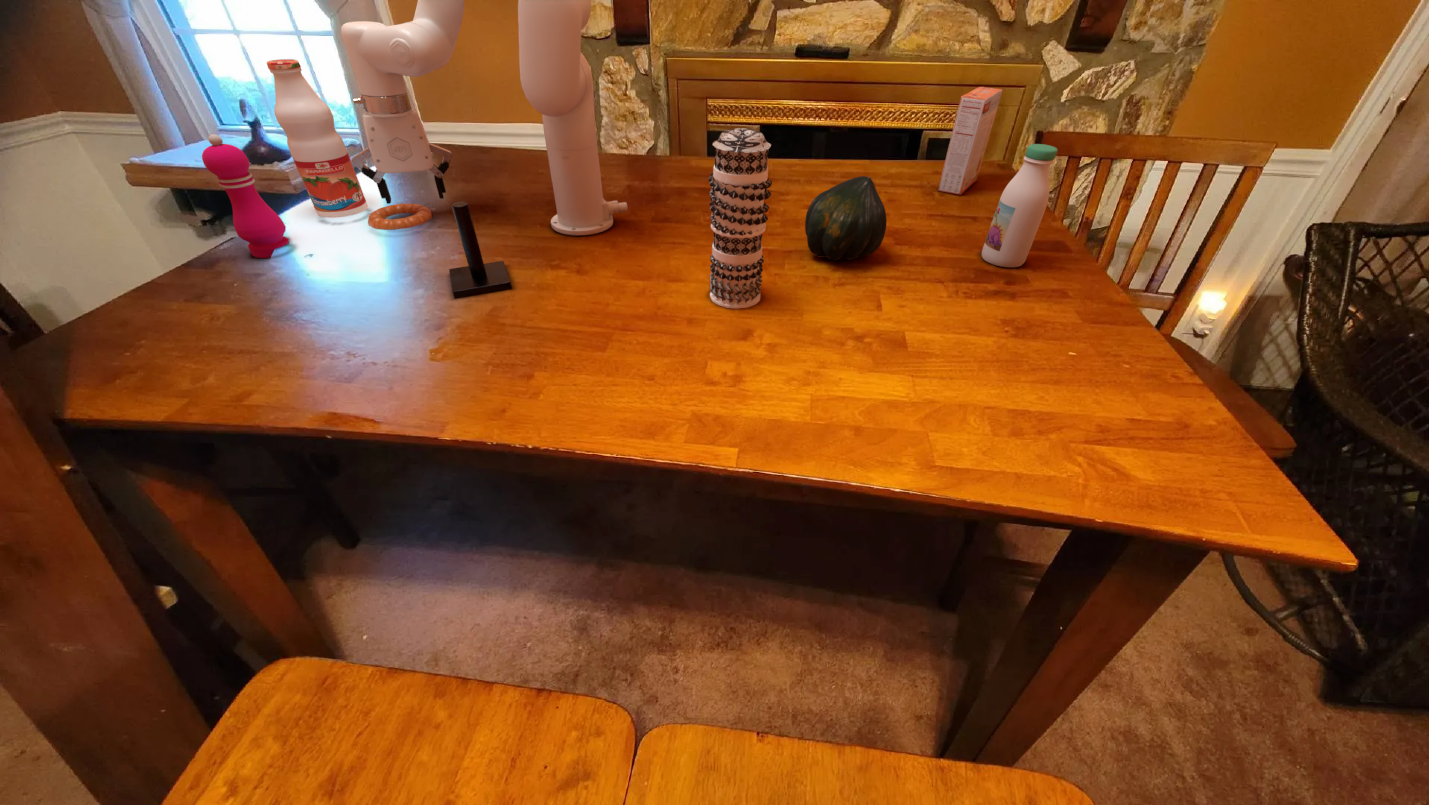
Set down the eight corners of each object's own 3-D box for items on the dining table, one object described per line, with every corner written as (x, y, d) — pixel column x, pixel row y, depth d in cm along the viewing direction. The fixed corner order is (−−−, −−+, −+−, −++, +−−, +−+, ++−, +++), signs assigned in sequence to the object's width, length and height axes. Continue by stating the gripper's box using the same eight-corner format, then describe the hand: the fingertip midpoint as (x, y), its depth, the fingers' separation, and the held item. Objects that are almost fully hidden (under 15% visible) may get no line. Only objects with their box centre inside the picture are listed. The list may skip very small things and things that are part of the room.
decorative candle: (723, 315, 87) (729, 144, 71) (697, 289, 93) (697, 128, 77) (773, 302, 90) (789, 137, 74) (745, 279, 96) (753, 122, 81)
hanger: (504, 266, 99) (486, 191, 90) (511, 288, 92) (493, 209, 84) (450, 275, 96) (427, 198, 88) (454, 298, 89) (429, 217, 81)
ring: (432, 211, 119) (428, 198, 117) (434, 231, 111) (430, 217, 109) (372, 219, 115) (367, 205, 113) (370, 239, 107) (364, 225, 105)
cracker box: (953, 177, 144) (978, 85, 131) (976, 181, 141) (1005, 88, 128) (935, 191, 135) (960, 94, 122) (960, 196, 132) (988, 97, 119)
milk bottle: (1024, 255, 106) (1068, 144, 93) (1023, 272, 100) (1069, 155, 88) (981, 248, 108) (1018, 138, 96) (978, 263, 103) (1017, 149, 90)
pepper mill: (273, 261, 99) (211, 141, 86) (239, 257, 100) (172, 138, 87) (304, 245, 104) (250, 130, 92) (271, 241, 106) (213, 127, 93)
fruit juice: (371, 205, 121) (315, 56, 104) (369, 220, 114) (308, 63, 97) (322, 210, 118) (256, 58, 101) (317, 226, 112) (245, 65, 94)
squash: (777, 221, 103) (833, 169, 91) (822, 205, 112) (878, 156, 100) (816, 286, 103) (877, 243, 91) (858, 265, 112) (918, 223, 100)
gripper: (331, 110, 95) (366, 210, 106) (440, 106, 101) (463, 200, 112) (334, 101, 100) (368, 197, 111) (437, 98, 106) (460, 189, 117)
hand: (415, 198), depth 111 cm, fingers open, 9 cm apart
